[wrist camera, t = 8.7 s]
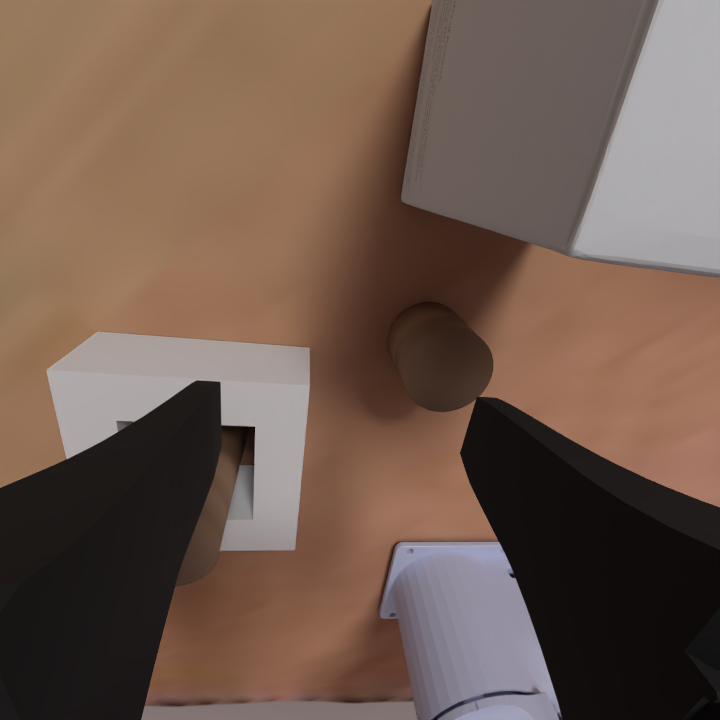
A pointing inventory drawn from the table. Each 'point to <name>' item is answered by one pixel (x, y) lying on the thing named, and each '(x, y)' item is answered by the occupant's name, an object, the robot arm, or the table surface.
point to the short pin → (439, 357)
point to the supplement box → (575, 127)
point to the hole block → (238, 408)
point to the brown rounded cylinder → (214, 509)
